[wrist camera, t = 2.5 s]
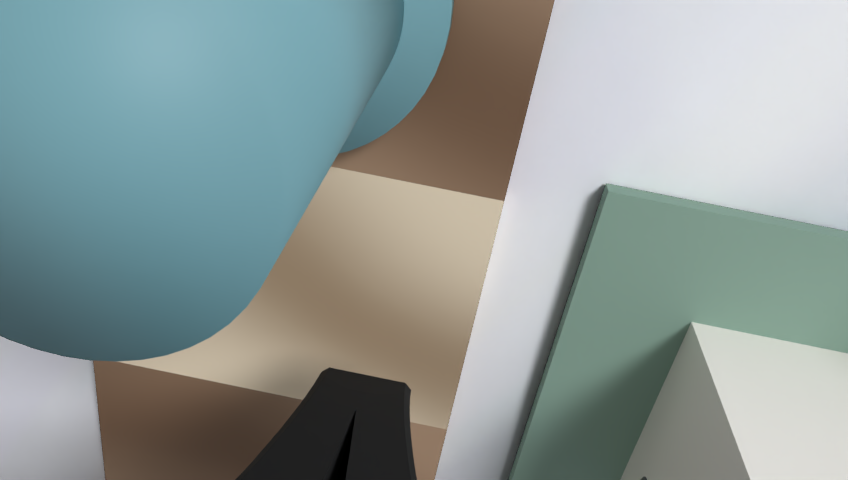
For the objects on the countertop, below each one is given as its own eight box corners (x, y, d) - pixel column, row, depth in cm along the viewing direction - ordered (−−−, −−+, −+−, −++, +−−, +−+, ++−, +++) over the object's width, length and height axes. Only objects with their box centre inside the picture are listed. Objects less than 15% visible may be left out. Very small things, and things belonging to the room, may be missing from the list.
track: (409, 573, 16) (407, 585, 16) (116, 511, 16) (109, 522, 16) (757, -823, 6) (768, -853, 6) (-22, -955, 6) (-46, -993, 6)
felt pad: (960, 613, 15) (969, 627, 14) (496, 516, 15) (495, 528, 15) (1249, 311, 11) (1268, 322, 10) (605, 183, 11) (608, 191, 10)
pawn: (425, 167, 11) (341, 470, 5) (147, 111, 11) (-197, 358, 6) (484, -158, 8) (436, -168, 3) (133, -224, 9) (-459, -340, 3)
